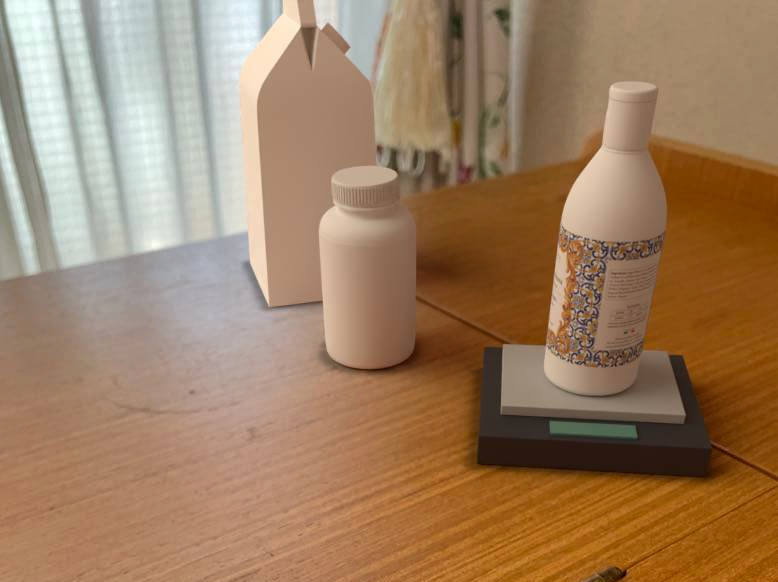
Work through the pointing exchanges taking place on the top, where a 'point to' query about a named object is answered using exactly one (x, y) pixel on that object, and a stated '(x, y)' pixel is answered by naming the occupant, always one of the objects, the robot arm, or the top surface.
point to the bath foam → (608, 254)
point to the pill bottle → (368, 270)
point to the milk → (298, 146)
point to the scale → (590, 418)
